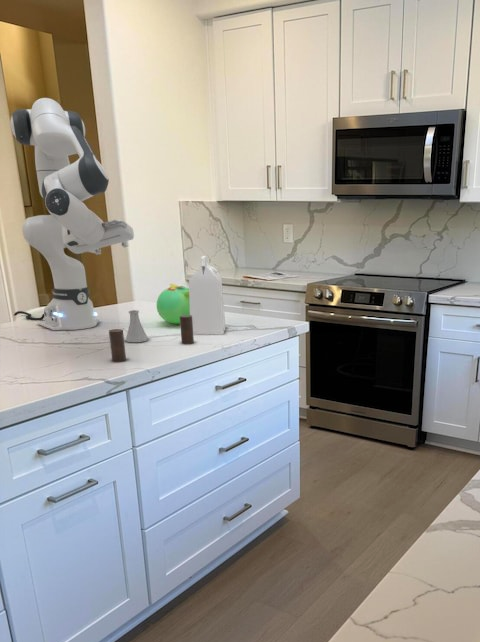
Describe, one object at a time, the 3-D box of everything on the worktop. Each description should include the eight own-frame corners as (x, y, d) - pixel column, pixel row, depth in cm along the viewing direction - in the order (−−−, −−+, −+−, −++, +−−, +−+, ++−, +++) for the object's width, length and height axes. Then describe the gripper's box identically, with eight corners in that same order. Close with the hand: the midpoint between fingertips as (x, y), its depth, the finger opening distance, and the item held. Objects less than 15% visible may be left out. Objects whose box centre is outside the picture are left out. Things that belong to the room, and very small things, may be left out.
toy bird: (168, 318, 242) (165, 280, 236) (209, 319, 240) (207, 281, 234) (151, 327, 225) (147, 287, 220) (195, 329, 223) (192, 288, 218)
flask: (141, 343, 201) (138, 313, 198) (121, 342, 203) (118, 312, 199) (151, 338, 208) (148, 309, 204) (132, 337, 209) (129, 308, 206)
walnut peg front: (109, 360, 181) (105, 330, 178) (120, 357, 184) (116, 328, 181) (118, 362, 179) (114, 332, 176) (129, 359, 182) (125, 330, 179)
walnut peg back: (179, 343, 203) (177, 316, 199) (187, 340, 206) (186, 314, 202) (187, 344, 201) (185, 317, 197) (196, 342, 204) (194, 315, 200)
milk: (194, 327, 226) (189, 255, 217) (225, 327, 227) (221, 255, 218) (190, 334, 215) (184, 258, 206) (223, 334, 216) (219, 258, 206)
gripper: (119, 209, 179) (141, 231, 192) (56, 226, 182) (82, 247, 195) (122, 229, 178) (144, 249, 191) (58, 246, 180) (84, 265, 194)
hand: (112, 248), depth 193 cm, fingers open, 8 cm apart
